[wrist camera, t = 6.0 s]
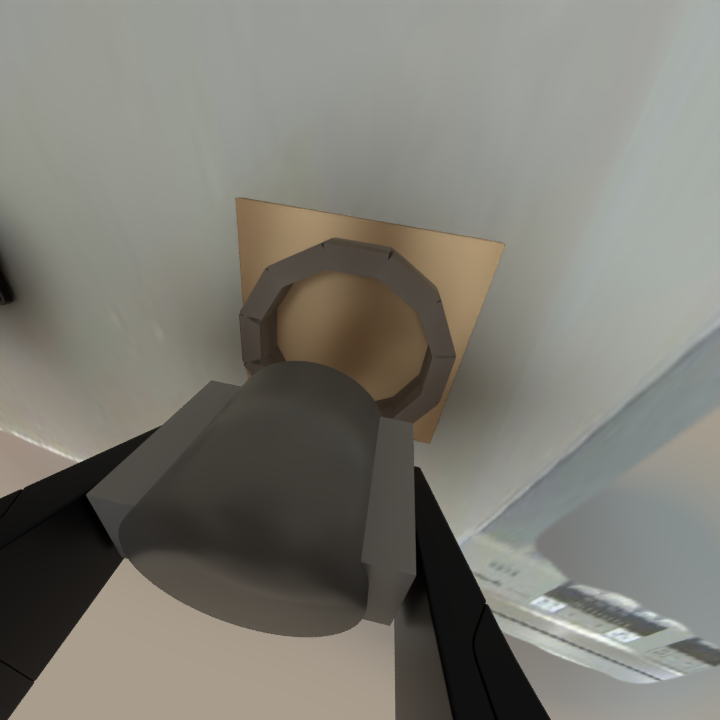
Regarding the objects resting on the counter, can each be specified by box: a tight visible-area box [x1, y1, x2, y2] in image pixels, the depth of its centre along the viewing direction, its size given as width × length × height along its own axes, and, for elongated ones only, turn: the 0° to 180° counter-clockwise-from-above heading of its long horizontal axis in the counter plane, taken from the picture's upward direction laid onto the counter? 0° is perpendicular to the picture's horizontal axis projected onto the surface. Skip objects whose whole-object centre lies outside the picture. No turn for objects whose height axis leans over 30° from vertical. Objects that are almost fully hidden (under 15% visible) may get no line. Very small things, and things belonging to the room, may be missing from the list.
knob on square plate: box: [236, 198, 505, 444], centre depth 15 cm, size 12×12×3 cm
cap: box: [86, 361, 416, 637], centre depth 7 cm, size 6×5×4 cm
